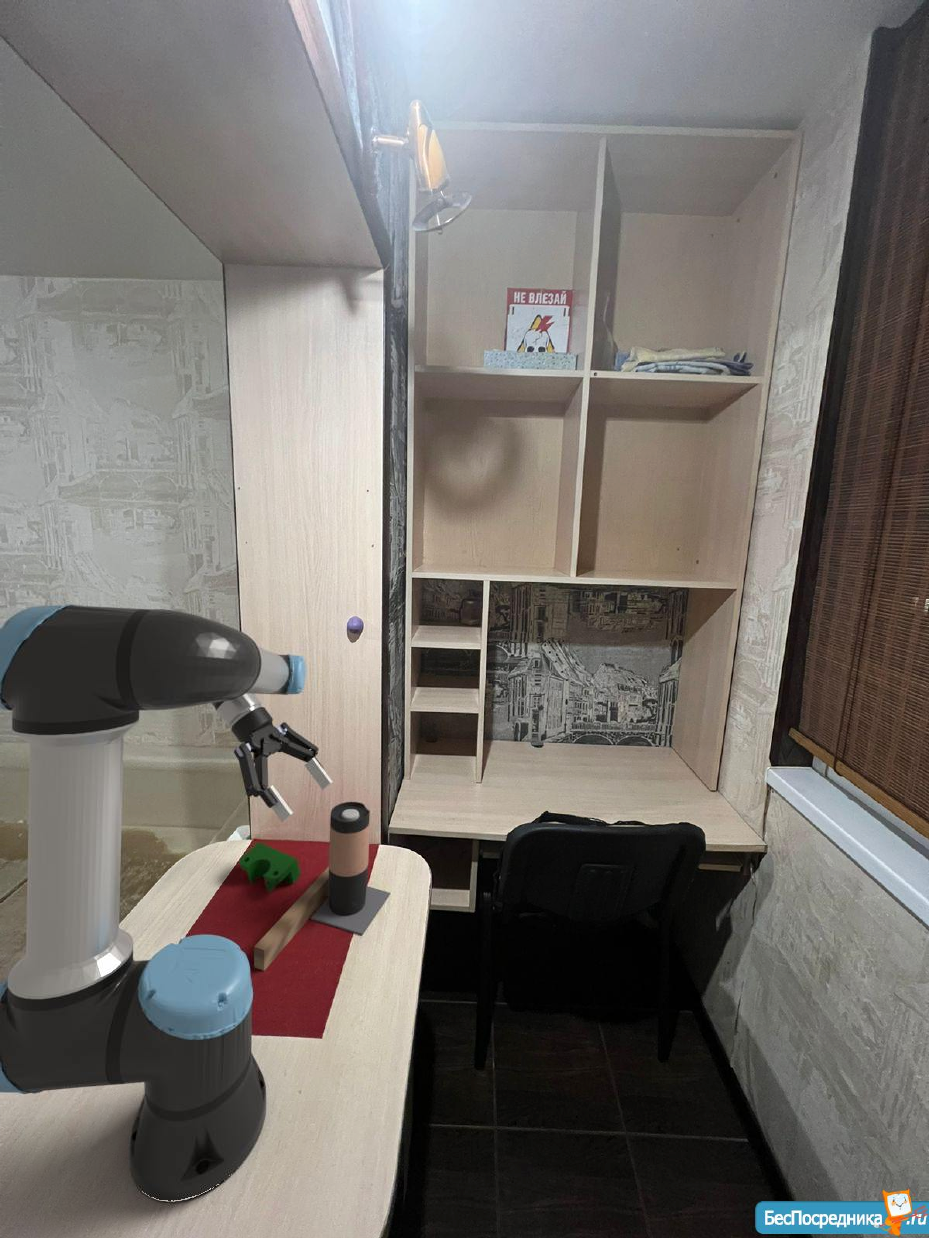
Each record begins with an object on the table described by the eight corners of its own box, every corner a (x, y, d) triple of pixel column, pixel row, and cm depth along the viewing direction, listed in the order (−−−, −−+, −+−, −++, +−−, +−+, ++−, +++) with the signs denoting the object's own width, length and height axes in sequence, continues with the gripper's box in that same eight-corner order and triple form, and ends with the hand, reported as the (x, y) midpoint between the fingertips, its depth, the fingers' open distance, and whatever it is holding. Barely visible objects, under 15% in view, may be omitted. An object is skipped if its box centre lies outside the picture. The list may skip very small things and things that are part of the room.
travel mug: (321, 913, 101) (323, 818, 98) (336, 887, 109) (338, 798, 106) (359, 919, 101) (362, 824, 97) (371, 893, 108) (375, 803, 105)
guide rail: (264, 970, 88) (264, 950, 88) (254, 967, 89) (254, 946, 88) (341, 880, 112) (341, 863, 111) (333, 877, 112) (333, 861, 112)
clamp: (251, 896, 112) (231, 861, 110) (272, 875, 116) (254, 841, 115) (286, 899, 105) (265, 862, 103) (306, 877, 110) (287, 841, 108)
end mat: (362, 935, 97) (362, 933, 97) (311, 919, 100) (311, 917, 100) (390, 894, 109) (390, 892, 109) (343, 880, 112) (343, 879, 112)
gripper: (275, 708, 119) (331, 783, 117) (186, 749, 96) (255, 843, 94) (295, 689, 117) (352, 765, 115) (209, 726, 93) (280, 822, 91)
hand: (308, 800), depth 104 cm, fingers open, 13 cm apart
